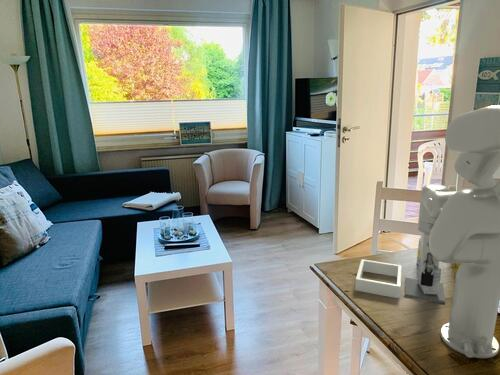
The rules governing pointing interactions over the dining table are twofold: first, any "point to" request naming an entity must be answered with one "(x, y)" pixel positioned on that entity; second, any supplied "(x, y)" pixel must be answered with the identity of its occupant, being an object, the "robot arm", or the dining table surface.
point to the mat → (416, 292)
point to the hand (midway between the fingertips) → (425, 278)
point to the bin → (377, 286)
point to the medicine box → (436, 280)
